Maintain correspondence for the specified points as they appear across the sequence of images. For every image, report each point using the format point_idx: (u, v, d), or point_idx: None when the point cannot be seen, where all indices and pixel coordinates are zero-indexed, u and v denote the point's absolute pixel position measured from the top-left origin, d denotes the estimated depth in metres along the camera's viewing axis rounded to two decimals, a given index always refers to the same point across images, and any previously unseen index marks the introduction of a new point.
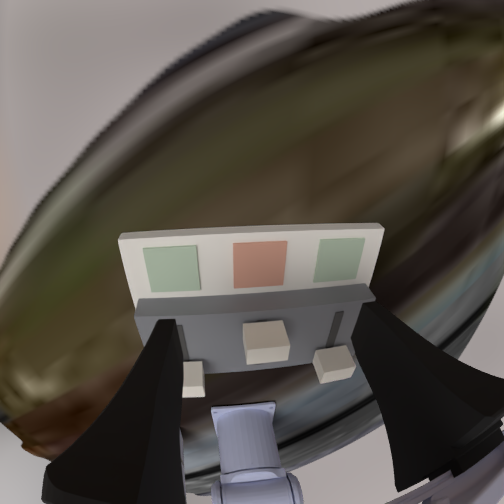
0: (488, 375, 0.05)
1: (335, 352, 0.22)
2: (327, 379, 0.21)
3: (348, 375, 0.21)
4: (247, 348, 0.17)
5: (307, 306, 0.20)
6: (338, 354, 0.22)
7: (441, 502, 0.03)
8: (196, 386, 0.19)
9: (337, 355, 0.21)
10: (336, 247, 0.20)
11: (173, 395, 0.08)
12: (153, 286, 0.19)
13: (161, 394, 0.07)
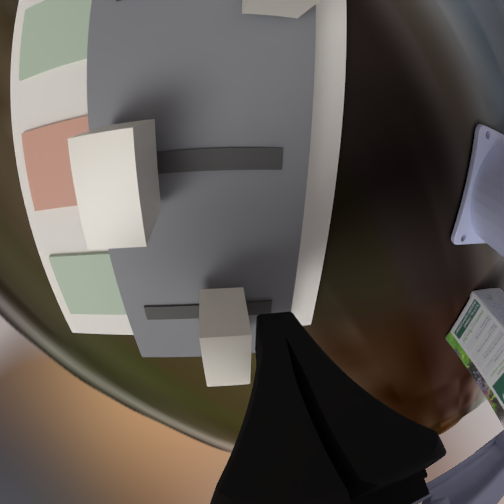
0: (401, 418, 0.05)
1: None
2: None
3: None
4: None
5: (87, 71, 0.06)
6: None
7: (441, 502, 0.03)
8: (202, 347, 0.08)
9: None
10: (30, 48, 0.06)
11: None
12: (119, 310, 0.13)
13: None
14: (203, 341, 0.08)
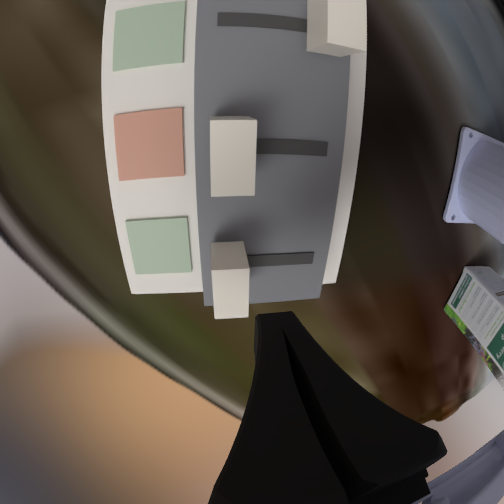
0: (402, 418, 0.05)
1: (311, 17, 0.08)
2: (355, 36, 0.07)
3: None
4: None
5: (194, 75, 0.10)
6: (313, 12, 0.08)
7: (441, 502, 0.03)
8: (212, 279, 0.12)
9: (314, 14, 0.08)
10: (124, 45, 0.10)
11: None
12: (183, 268, 0.17)
13: None
14: (214, 273, 0.12)
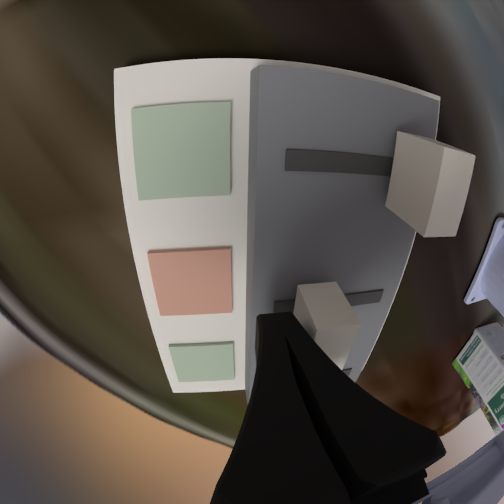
0: (401, 418, 0.05)
1: (402, 169, 0.08)
2: (451, 221, 0.07)
3: (465, 165, 0.06)
4: None
5: (254, 236, 0.10)
6: (407, 166, 0.08)
7: (441, 502, 0.03)
8: None
9: (408, 170, 0.08)
10: (150, 166, 0.10)
11: None
12: (226, 377, 0.17)
13: None
14: None
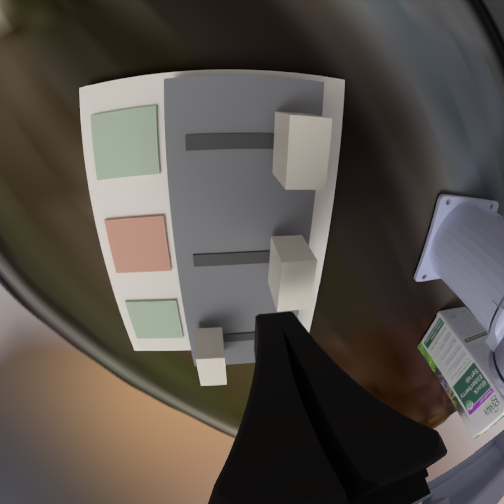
0: (402, 418, 0.05)
1: (276, 140, 0.11)
2: (315, 176, 0.10)
3: (320, 128, 0.09)
4: None
5: (169, 200, 0.13)
6: (278, 137, 0.11)
7: (441, 502, 0.03)
8: (197, 364, 0.15)
9: (278, 140, 0.11)
10: (104, 155, 0.13)
11: None
12: (176, 335, 0.20)
13: None
14: (198, 361, 0.15)
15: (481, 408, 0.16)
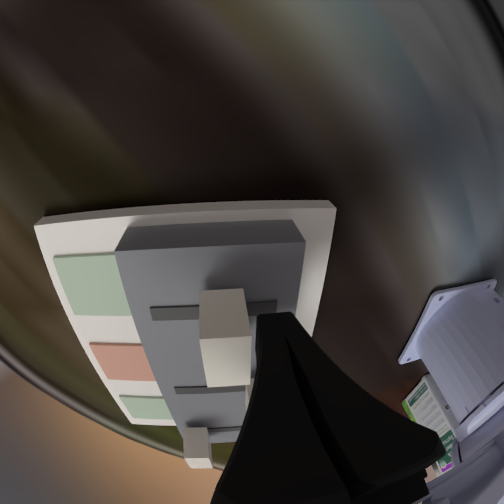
0: (401, 418, 0.05)
1: None
2: (237, 378, 0.10)
3: (236, 345, 0.09)
4: None
5: (145, 353, 0.12)
6: None
7: (441, 502, 0.03)
8: (185, 459, 0.14)
9: None
10: (76, 296, 0.12)
11: None
12: (168, 418, 0.19)
13: None
14: (186, 458, 0.14)
15: None
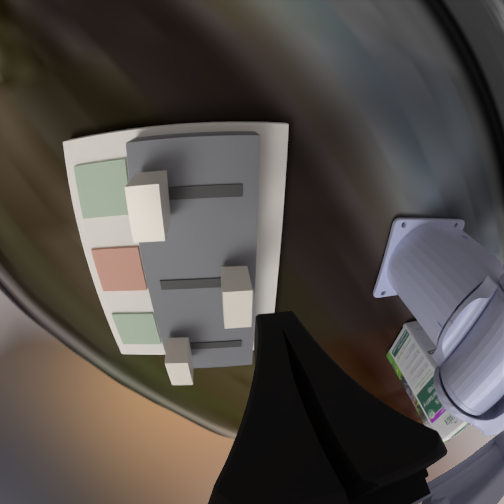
0: (402, 418, 0.05)
1: None
2: (154, 231, 0.13)
3: (149, 193, 0.12)
4: None
5: None
6: None
7: (441, 502, 0.03)
8: (166, 367, 0.18)
9: None
10: (87, 199, 0.16)
11: None
12: (155, 342, 0.23)
13: None
14: (166, 364, 0.18)
15: (442, 418, 0.19)
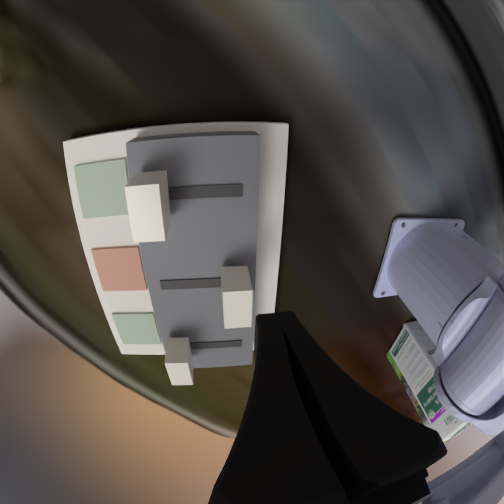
0: (402, 418, 0.05)
1: None
2: (154, 231, 0.13)
3: (149, 193, 0.12)
4: None
5: None
6: None
7: (441, 502, 0.03)
8: (166, 367, 0.18)
9: None
10: (87, 199, 0.16)
11: None
12: (155, 342, 0.23)
13: None
14: (166, 364, 0.18)
15: (442, 418, 0.19)
